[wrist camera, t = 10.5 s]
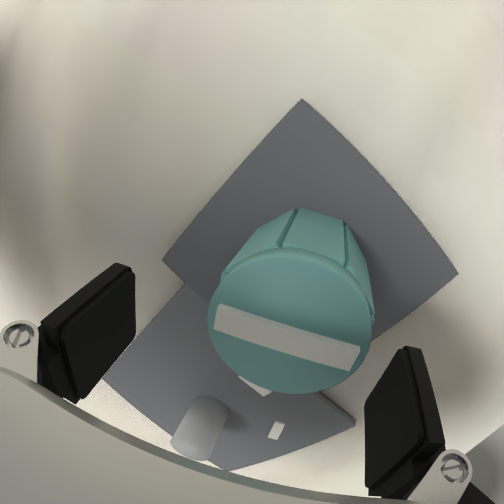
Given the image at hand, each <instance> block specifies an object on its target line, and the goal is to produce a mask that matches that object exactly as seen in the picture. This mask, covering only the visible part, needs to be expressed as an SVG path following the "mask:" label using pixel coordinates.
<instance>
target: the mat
mask: <svg viewBox="0 0 504 504" xmlns="http://www.w3.org/2000/svg"><path fill="white" fill-rule="evenodd" d="M294 208H295V209H296V211H297V213H298V211H299V208H304V209H307V210H310V211H314V212H317V213H320V214H324V215H327V216H330V217H334V218H337V219H340V220H343V226H344V225H346V224H348V226H349V228H350V230H351V232H352V234H353V236H354V238H355V240H356V242H357V244H358V246H359V248H360V250H361V252H362V254H363V256H364V258H365V260H366V263H367V268H368V274H369V280H370V286H371V292H372V298H373V305H374V311H375V315H374V318H375V321H374V323H373V325H372V327H371V333H372V334H371V341H372V340H374V339H375V338H377V337H378V336H379V335H381V334H382V333H384V332H385V331H386V330H388V329H389V328H391V327H392V326H393V325H395V324H396V323H398V322H399V321H400V320H402V319H403V318H404V317H406V316H407V315H408V314H410V313H411V312H412V311H414V310H415V309H416V308H417V307H419V306H420V305H421V304H423V303H424V302H425V301H426V300H428V299H429V298H430V297H431V296H433V295H434V294H435V293H436V292H438V291H439V290H440V289H441V288H442V287H444V286H445V285H446V284H447V283H448V282H449V281H451V280H452V279H453V278H454V277H455V276H456V275H458V274H459V273H458V272H457V271H456V269H455V268H454V266H453V265H452V263H451V262H450V261H449V259H448V258H447V256H446V255H445V254H444V252H443V251H442V250H441V248H440V247H439V246H438V244H437V243H436V242H435V240H434V239H433V238H432V236H431V235H430V234H429V232H428V231H427V230H426V229H425V227H424V226H423V225H422V223H421V222H420V221H419V220H418V218H417V217H416V216H415V215H414V214H413V212H412V211H411V210H410V209H409V208H408V206H407V205H406V204H405V203H404V202H403V200H402V199H401V198H400V197H399V196H398V195H397V193H396V192H395V191H394V190H393V189H392V188H391V187H390V185H389V184H388V183H387V182H386V181H385V180H384V179H383V178H382V176H381V175H380V174H379V173H378V172H377V171H376V170H375V169H374V168H373V167H372V166H371V165H370V164H369V162H368V161H367V160H366V159H365V158H364V157H363V156H362V155H361V154H360V153H359V152H358V151H357V150H356V149H355V148H354V147H353V146H352V145H351V144H350V143H349V142H348V141H347V140H346V139H345V138H344V137H343V136H342V135H341V134H340V133H339V132H338V131H337V130H336V129H335V128H334V127H333V126H332V125H331V124H329V123H328V122H327V121H326V120H325V119H324V118H323V117H322V116H321V115H320V114H319V113H318V112H316V111H315V110H314V109H313V108H312V107H311V106H310V105H309V104H308V103H306V102H305V101H304V100H303V99H301V100H300V101H299V102H298V103H297V104H296V105H295V106H294V107H293V108H292V109H291V110H290V111H289V112H288V113H287V114H286V115H285V116H284V118H283V119H282V120H281V121H280V122H279V123H278V124H277V125H276V126H275V127H274V128H273V129H272V130H271V132H270V133H269V134H268V135H267V136H266V137H265V138H264V139H263V140H262V141H261V143H260V144H259V145H258V146H257V147H256V148H255V149H254V150H253V151H252V153H251V154H250V155H249V156H248V157H247V158H246V159H245V160H244V162H243V163H242V164H241V165H240V166H239V167H238V168H237V170H236V171H235V172H234V173H233V174H232V175H231V176H230V178H229V179H228V180H227V181H226V182H225V183H224V185H223V186H222V187H221V188H220V189H219V190H218V192H217V193H216V194H215V195H214V196H213V197H212V199H211V200H210V201H209V202H208V203H207V205H206V206H205V207H204V208H203V209H202V211H201V212H200V213H199V214H198V215H197V217H196V218H195V219H194V220H193V222H192V223H191V224H190V225H189V226H188V228H187V229H186V230H185V231H184V233H183V234H182V235H181V236H180V238H179V239H178V240H177V241H176V243H175V244H174V245H173V246H172V248H171V249H170V250H169V252H168V253H167V254H166V255H165V257H164V258H163V259H162V261H163V262H164V263H165V264H166V265H167V266H168V267H169V268H170V269H171V270H172V271H173V272H175V273H176V274H177V275H178V276H179V277H180V278H181V279H182V280H183V281H184V282H185V283H186V284H187V285H188V286H189V287H190V288H191V289H193V290H194V291H195V292H196V293H197V294H198V295H199V296H200V297H201V298H202V299H203V300H204V301H206V302H207V303H208V304H210V301H211V299H212V296H213V294H214V292H215V291H216V289H217V288H218V286H219V285H220V280H221V275H222V272H223V271H224V270H225V268H226V267H227V266H228V265H229V263H230V262H231V261H232V260H233V258H234V257H235V256H236V255H237V253H238V252H239V251H240V250H241V248H242V247H243V246H244V244H245V243H246V242H247V241H248V239H249V238H250V237H251V236H252V234H253V233H254V232H255V231H256V230H257V228H259V227H261V226H262V225H264V224H266V223H268V222H270V221H272V220H273V219H275V218H277V217H279V216H281V215H283V214H284V213H286V212H288V211H290V210H292V209H294Z"/></svg>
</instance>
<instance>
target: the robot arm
mask: <svg viewBox="0 0 504 504" xmlns="http://www.w3.org/2000/svg"><path fill="white" fill-rule="evenodd" d="M135 334H136V316H135V274H134V273H133V272H132V269H131V268H130V267H128V266H125V265H122V264H119V263H114V264H113V265H112V266H110V267H109V268H108V269H106V270H105V271H104V272H102V273H101V274H100V275H98V276H97V277H96V278H94V279H93V280H92V281H90V282H89V283H88V284H87V285H85V286H84V287H83V288H81V289H80V290H79V291H78V292H76V293H75V294H74V295H73V296H71V297H70V298H69V299H68V300H66V301H65V302H64V303H63V304H61V305H60V306H59V307H58V308H56V309H55V310H54V311H53V312H52V313H50V314H49V315H48V316H47V317H45V318H44V319H43V320H42V321H41V325H40V326H39V327H38V328H37V327H36V325H34V324H33V323H31V322H29V321H23V320H20V321H14V322H12V323H9V324H8V325H6V326H5V327H4V328H3V329H2V331H1V333H0V504H495V503H494V502H492V500H490V499H489V498H488V497H487V496H486V495H485V494H483V493H482V492H481V491H480V490H479V489H478V488H477V487H475V486H474V485H473V484H472V483H471V482H470V479H471V476H472V466H471V463H470V461H469V460H468V458H467V457H466V456H465V455H464V454H463V453H461V452H460V451H457V450H453V449H451V450H446V449H445V439H444V434H443V429H442V425H441V420H440V416H439V412H438V408H437V404H436V400H435V396H434V392H433V388H432V385H431V381H430V377H429V374H428V370H427V367H426V363H425V360H424V357H423V354H422V351H421V349H419V348H414V347H410V346H405V347H403V349H399V350H398V351H397V352H396V354H395V355H394V357H393V359H392V360H391V362H390V364H389V365H388V367H387V369H386V370H385V372H384V373H383V375H382V377H381V378H380V380H379V381H378V383H377V384H376V386H375V388H374V389H373V391H372V392H371V394H370V395H369V397H368V398H367V400H366V402H365V406H364V416H365V486H366V487H367V488H369V491H368V496H381V498H369V497H358V496H348V495H340V494H332V493H324V492H317V491H311V490H305V489H299V488H294V487H289V486H284V485H279V484H274V483H270V482H266V481H261V480H257V479H253V478H249V477H245V476H242V475H238V474H235V473H231V472H228V471H224V470H221V469H218V468H215V467H211V466H208V465H205V464H202V463H199V462H197V461H194V460H191V459H188V458H185V457H183V456H180V455H177V454H175V453H172V452H170V451H167V450H165V449H162V448H160V447H157V446H155V445H153V444H150V443H148V442H146V441H143V440H141V439H139V438H137V437H134V436H132V435H130V434H128V433H126V432H124V431H122V430H120V429H118V428H115V427H113V426H112V425H110V424H108V423H106V422H104V421H102V420H100V419H98V418H96V417H94V416H92V415H91V414H89V413H87V412H85V411H83V410H82V409H80V408H78V407H76V406H74V405H73V404H71V403H69V402H67V401H66V400H64V399H63V397H64V398H66V399H67V400H69V401H71V402H72V403H74V404H76V403H77V402H78V401H79V400H80V398H81V399H84V398H86V397H87V395H88V394H89V393H90V392H91V390H92V389H93V388H94V387H95V385H96V384H97V383H98V382H99V381H100V379H101V378H102V377H103V376H104V374H105V373H106V372H107V371H108V369H109V368H110V367H111V366H112V365H113V363H114V362H115V361H116V360H117V359H118V357H119V356H120V355H121V354H122V352H123V351H124V350H125V349H126V348H127V346H128V345H129V344H130V343H131V342H132V340H133V339H134V337H135Z"/></svg>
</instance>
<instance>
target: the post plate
mask: <svg viewBox="0 0 504 504" xmlns="http://www.w3.org/2000/svg"><path fill="white" fill-rule="evenodd" d="M208 308H209V304H208V303H207V302H206V301H204V300H203V299H202V298H201V297H200V296H199V295H198V294H197V293H196V292H195V291H194V290H193V289H191V288H190V287H189V286H188V285H187V284H186V283H185V285H184V286H183V287H182V288H181V289H180V290H179V291H178V292H177V293H176V294H175V296H174V297H173V298H172V299H171V300H170V301H169V302H168V303H167V304H166V306H165V307H164V308H163V309H162V310H161V311H160V312H159V313H158V315H157V316H156V317H155V318H154V319H153V320H152V321H151V322H150V324H149V325H148V326H147V327H146V328H145V329H144V330H143V331H142V333H141V334H140V335H139V336H138V337H137V338H136V339H135V341H134V342H133V343H132V344H131V345H130V346H129V347H128V349H127V350H126V351H125V352H124V353H123V354H122V355H121V357H120V358H119V359H118V360H117V361H116V362H115V363H114V365H113V366H112V367H111V368H110V369H109V370H108V372H107V373H106V374H105V375H104V376H103V377H102V379H103V380H104V381H105V382H106V383H107V384H109V385H110V386H111V387H112V388H113V389H114V390H115V391H116V392H117V393H119V394H120V395H121V396H122V397H123V398H124V399H126V400H127V401H128V402H129V403H130V404H132V405H133V406H134V407H135V408H136V409H138V410H139V411H140V412H141V413H143V414H144V415H145V416H146V417H148V418H149V419H150V420H151V421H153V422H154V423H155V424H157V425H158V426H159V427H161V428H162V429H163V430H165V431H166V432H167V433H169V434H170V435H171V436H173V437H172V439H171V445H172V446H173V448H174V449H175V450H176V451H177V452H179V453H180V454H182V455H184V456H186V457H188V458H190V459H193V460H198V461H205V460H208V461H210V462H211V463H213V464H215V465H216V466H218V467H219V468H221V469H223V470H224V471H228V472H229V471H232V470H236V469H240V468H244V467H247V466H250V465H254V464H257V463H260V462H264V461H267V460H270V459H273V458H276V457H279V456H282V455H285V454H288V453H291V452H293V451H296V450H299V449H301V448H304V447H307V446H309V445H312V444H314V443H317V442H319V441H322V440H324V439H327V438H329V437H331V436H334V435H336V434H338V433H340V432H343V431H345V430H347V429H349V428H351V427H354V426H355V424H356V421H355V420H354V419H353V418H351V417H350V416H349V415H348V414H346V413H345V412H344V411H342V410H341V409H340V408H338V407H337V406H336V405H335V404H333V403H332V402H331V401H329V400H328V399H327V398H326V397H324V396H323V395H322V394H321V393H319V392H313V393H305V394H289V393H281V392H275V391H271V390H268V389H265V388H262V387H259V386H257V385H255V384H253V383H251V382H249V381H247V380H245V379H244V378H242V377H241V376H239V375H238V374H237V373H235V372H234V371H233V370H232V369H231V368H230V367H229V366H228V365H227V364H226V363H225V362H224V361H223V360H222V359H221V357H220V356H219V354H218V353H217V351H216V349H215V347H214V346H213V344H212V341H211V338H210V335H209V331H208V323H207V315H208Z"/></svg>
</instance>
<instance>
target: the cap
mask: <svg viewBox="0 0 504 504" xmlns="http://www.w3.org/2000/svg"><path fill="white" fill-rule="evenodd" d="M374 315H375V311H374V305H373V298H372V292H371V286H370V280H369V274H368V268H367V263H366V260H365V258H364V256H363V254H362V252H361V250H360V248H359V246H358V244H357V242H356V240H355V238H354V236H353V234H352V232H351V230H350V228H349V226H348V224H346V225H344V226H343V220H340V219H337V218H334V217H330V216H327V215H324V214H320V213H317V212H314V211H310V210H307V209H304V208H299V211H298V213H297V211H296V209H295V208H294V209H292V210H290V211H288V212H286V213H284V214H283V215H281V216H279V217H277V218H275V219H273V220H272V221H270V222H268V223H266V224H264V225H262V226H261V227H259V228H257V230H256V231H255V232H254V233H253V234H252V236H251V237H250V238H249V239H248V241H247V242H246V243H245V244H244V246H243V247H242V248H241V250H240V251H239V252H238V253H237V255H236V256H235V257H234V258H233V260H232V261H231V262H230V263H229V265H228V266H227V267H226V268H225V270H224V271H223V272H222V275H221V280H220V285H219V286H218V288H217V289H216V291H215V292H214V294H213V296H212V299H211V301H210V304H209V308H208V315H207V323H208V331H209V335H210V338H211V341H212V344H213V346H214V347H215V349H216V351H217V353H218V354H219V356H220V357H221V359H222V360H223V361H224V362H225V363H226V364H227V365H228V366H229V367H230V368H231V369H232V370H233V371H234V372H235V373H237V374H238V375H239V376H241V377H242V378H244V379H245V380H247V381H249V382H251V383H253V384H255V385H257V386H259V387H262V388H265V389H268V390H271V391H275V392H281V393H289V394H305V393H313V392H318V391H322V390H325V389H328V388H331V387H333V386H335V385H337V384H339V383H341V382H342V381H344V380H345V379H347V378H348V377H349V376H350V375H352V374H353V373H354V372H355V371H356V370H357V369H358V367H359V366H360V365H361V363H362V362H363V360H364V359H365V357H366V354H367V352H368V350H369V346H370V343H371V334H372V333H371V327H372V325H373V323H374V321H375V318H374Z"/></svg>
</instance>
